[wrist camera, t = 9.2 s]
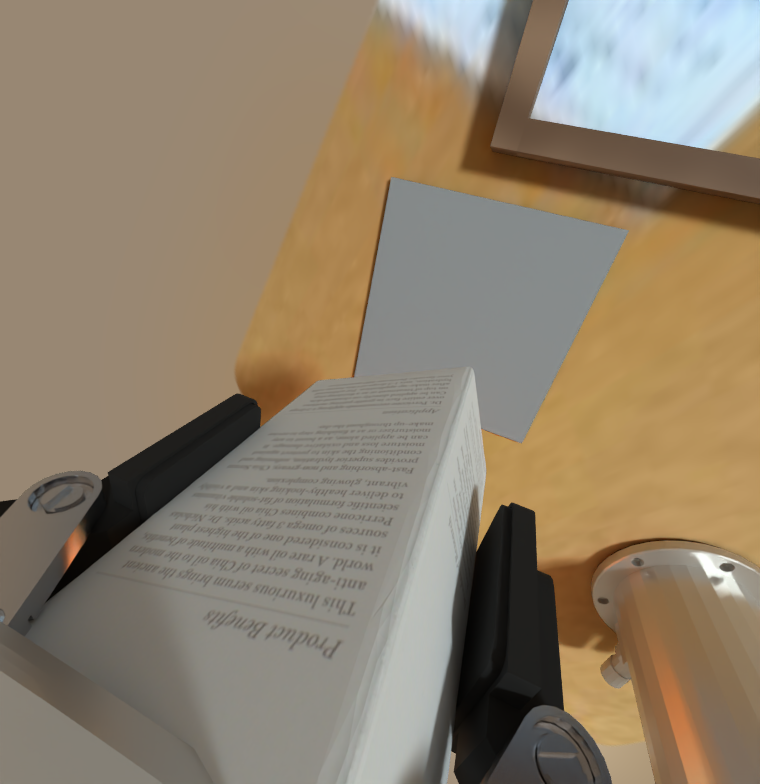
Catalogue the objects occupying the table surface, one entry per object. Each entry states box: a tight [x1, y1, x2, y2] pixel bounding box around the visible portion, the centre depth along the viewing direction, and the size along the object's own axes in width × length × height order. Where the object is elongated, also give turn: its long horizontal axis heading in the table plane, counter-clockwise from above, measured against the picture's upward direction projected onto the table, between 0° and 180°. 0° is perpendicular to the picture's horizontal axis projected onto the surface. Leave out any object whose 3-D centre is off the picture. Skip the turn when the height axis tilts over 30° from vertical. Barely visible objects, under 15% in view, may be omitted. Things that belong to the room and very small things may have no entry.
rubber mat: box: [354, 177, 628, 443], centre depth 27 cm, size 16×15×1 cm
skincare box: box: [25, 367, 486, 784], centre depth 8 cm, size 6×4×12 cm
